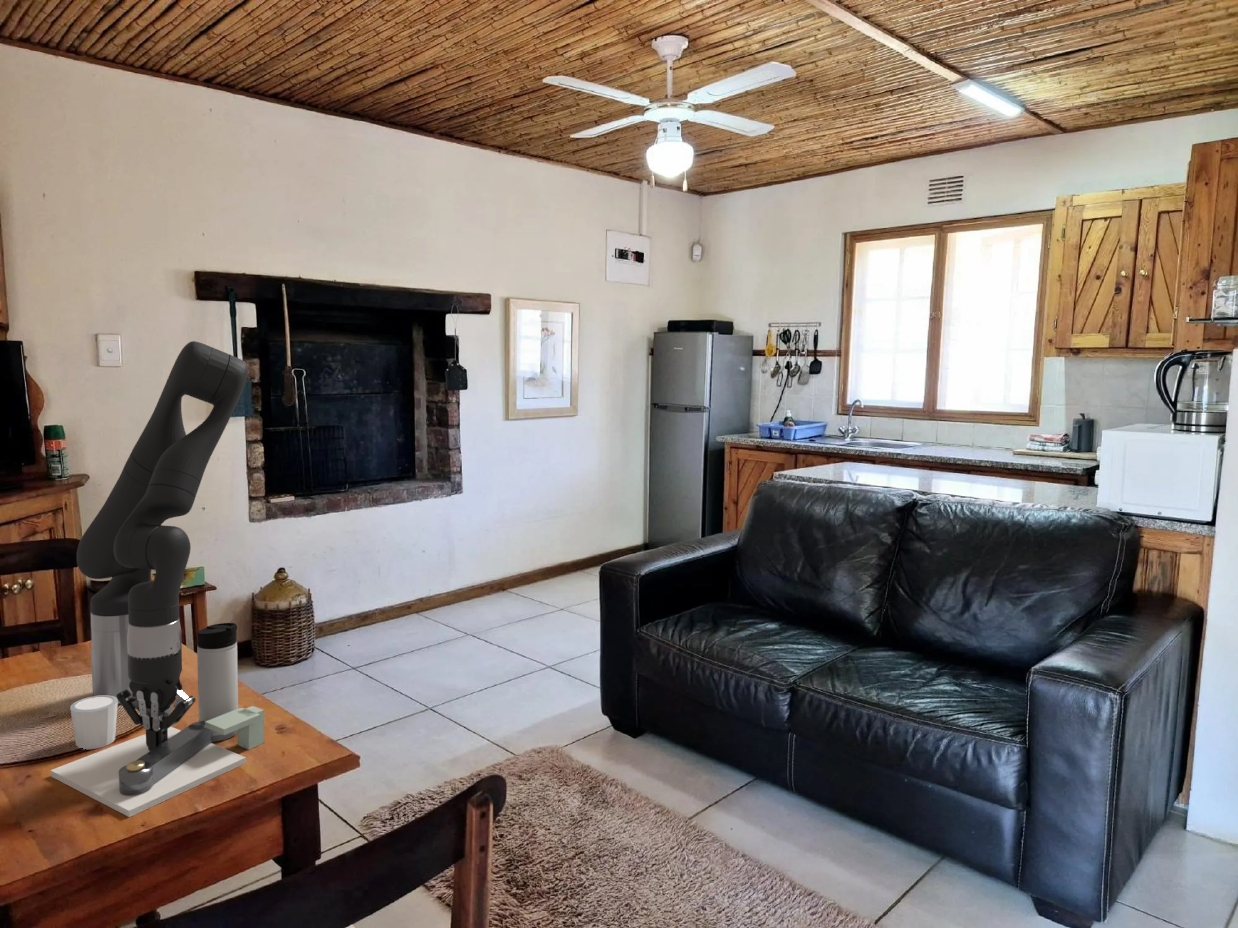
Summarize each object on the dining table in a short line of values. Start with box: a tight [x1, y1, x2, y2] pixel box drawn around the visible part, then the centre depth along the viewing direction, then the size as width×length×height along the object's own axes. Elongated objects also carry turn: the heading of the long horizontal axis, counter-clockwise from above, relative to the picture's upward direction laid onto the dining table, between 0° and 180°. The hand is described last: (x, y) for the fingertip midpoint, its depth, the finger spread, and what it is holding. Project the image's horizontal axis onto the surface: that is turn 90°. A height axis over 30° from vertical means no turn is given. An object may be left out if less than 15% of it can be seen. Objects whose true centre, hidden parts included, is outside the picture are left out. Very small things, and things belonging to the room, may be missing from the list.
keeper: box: [205, 705, 265, 750], centre depth 137 cm, size 5×8×6 cm, turn 151°
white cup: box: [70, 695, 119, 750], centre depth 138 cm, size 7×7×7 cm
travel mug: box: [196, 622, 239, 743], centre depth 142 cm, size 6×7×20 cm
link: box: [119, 720, 212, 795], centre depth 129 cm, size 19×4×4 cm, turn 172°
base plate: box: [50, 726, 247, 818], centre depth 130 cm, size 21×19×1 cm
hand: (157, 748), depth 132 cm, fingers closed
